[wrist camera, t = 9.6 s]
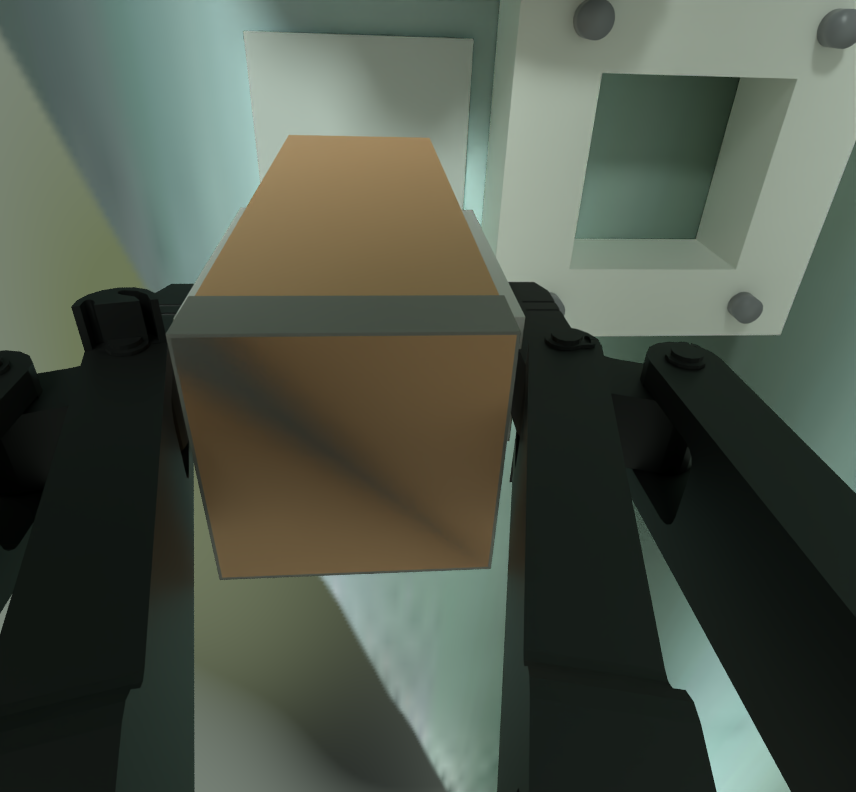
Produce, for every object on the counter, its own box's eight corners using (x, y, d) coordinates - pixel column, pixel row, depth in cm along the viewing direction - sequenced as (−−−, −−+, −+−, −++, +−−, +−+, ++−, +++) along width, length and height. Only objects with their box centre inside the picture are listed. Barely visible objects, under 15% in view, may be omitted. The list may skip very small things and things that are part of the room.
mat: (244, 31, 24) (243, 31, 24) (472, 38, 25) (473, 38, 25) (269, 252, 29) (268, 255, 29) (458, 253, 30) (459, 256, 29)
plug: (286, 133, 20) (165, 334, 8) (431, 136, 20) (521, 331, 8) (298, 270, 22) (219, 579, 10) (426, 270, 22) (490, 568, 11)
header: (502, -37, 24) (530, -42, 20) (844, -21, 25) (936, -24, 21) (475, 300, 31) (491, 345, 27) (737, 299, 32) (789, 342, 28)
